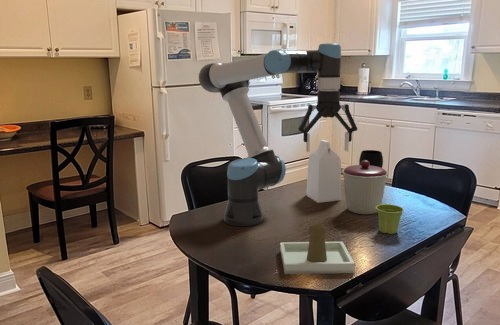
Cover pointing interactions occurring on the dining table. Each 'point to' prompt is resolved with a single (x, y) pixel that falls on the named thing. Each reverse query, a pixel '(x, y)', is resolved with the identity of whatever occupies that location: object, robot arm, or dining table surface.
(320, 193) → the milk
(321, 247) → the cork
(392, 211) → the plant pot
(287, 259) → the tray
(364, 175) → the canister
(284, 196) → the dining table surface
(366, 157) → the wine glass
